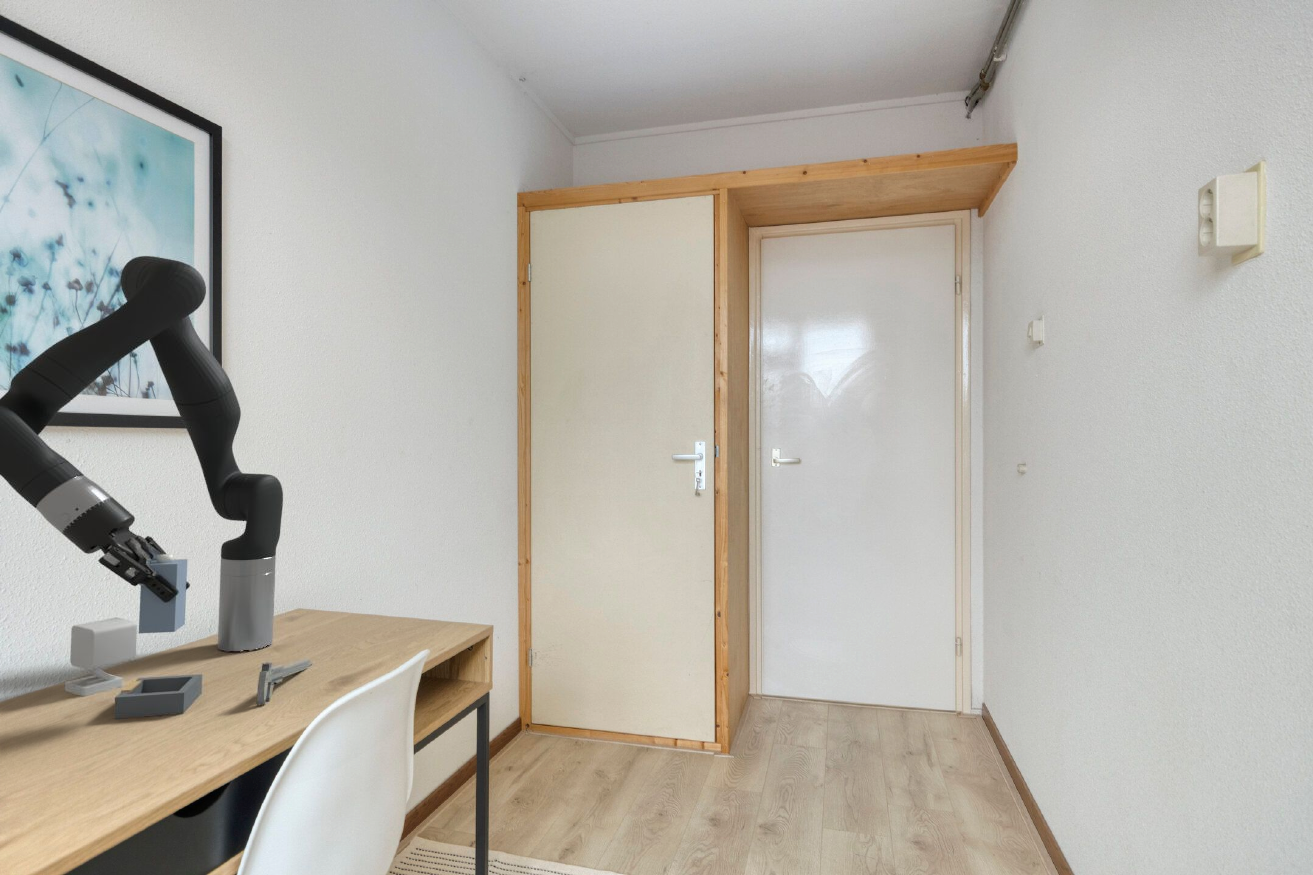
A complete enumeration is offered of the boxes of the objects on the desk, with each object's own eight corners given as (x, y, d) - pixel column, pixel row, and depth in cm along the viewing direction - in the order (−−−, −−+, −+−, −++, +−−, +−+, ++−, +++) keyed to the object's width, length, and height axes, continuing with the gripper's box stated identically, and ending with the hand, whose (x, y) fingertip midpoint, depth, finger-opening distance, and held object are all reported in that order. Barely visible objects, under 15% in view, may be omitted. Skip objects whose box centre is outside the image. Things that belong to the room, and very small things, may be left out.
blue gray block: (138, 633, 102) (141, 557, 102) (150, 625, 106) (153, 553, 107) (174, 631, 103) (177, 557, 104) (184, 624, 108) (187, 552, 108)
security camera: (135, 683, 114) (137, 621, 114) (85, 697, 107) (87, 631, 107) (112, 677, 116) (115, 616, 116) (62, 689, 110) (65, 625, 110)
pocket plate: (113, 718, 100) (114, 695, 100) (137, 697, 108) (138, 676, 108) (183, 713, 102) (184, 691, 102) (201, 693, 110) (202, 672, 110)
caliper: (264, 707, 106) (265, 666, 106) (256, 707, 106) (258, 666, 106) (312, 665, 126) (313, 630, 126) (306, 665, 126) (307, 630, 126)
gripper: (86, 499, 96) (184, 585, 100) (128, 492, 110) (214, 568, 113) (37, 538, 94) (139, 624, 98) (86, 526, 108) (174, 602, 112)
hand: (178, 593), depth 106 cm, fingers closed on blue gray block, 4 cm apart
